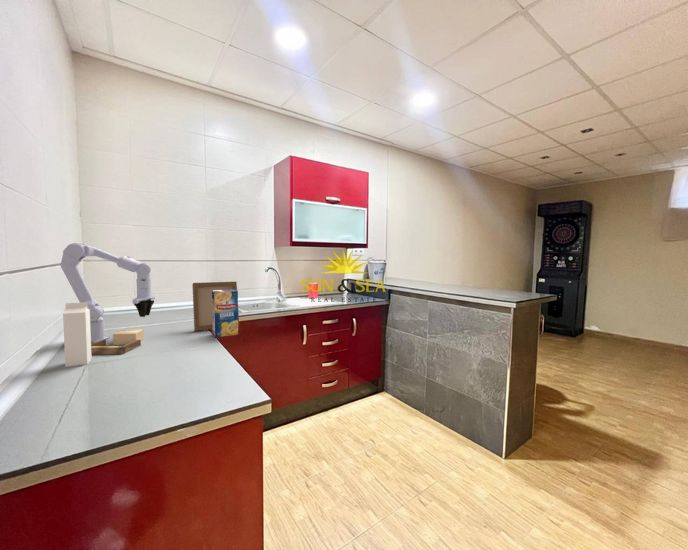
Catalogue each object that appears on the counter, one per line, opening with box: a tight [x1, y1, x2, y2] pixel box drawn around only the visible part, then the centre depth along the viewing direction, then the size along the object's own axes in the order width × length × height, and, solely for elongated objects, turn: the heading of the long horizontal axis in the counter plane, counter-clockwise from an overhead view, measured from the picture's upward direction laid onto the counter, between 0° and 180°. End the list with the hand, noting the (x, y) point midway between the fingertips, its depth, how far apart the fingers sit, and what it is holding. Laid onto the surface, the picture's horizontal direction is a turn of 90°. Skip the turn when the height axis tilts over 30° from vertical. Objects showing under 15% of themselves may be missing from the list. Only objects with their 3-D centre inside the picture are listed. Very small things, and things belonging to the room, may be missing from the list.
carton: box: [112, 329, 145, 346], centre depth 133 cm, size 9×7×5 cm
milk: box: [62, 302, 92, 368], centre depth 106 cm, size 6×6×22 cm
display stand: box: [91, 339, 142, 355], centre depth 122 cm, size 16×12×3 cm
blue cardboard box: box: [211, 289, 239, 338], centre depth 148 cm, size 7×11×22 cm, turn 124°
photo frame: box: [192, 281, 240, 332], centre depth 162 cm, size 15×22×25 cm
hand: (144, 316), depth 144 cm, fingers open, 3 cm apart
